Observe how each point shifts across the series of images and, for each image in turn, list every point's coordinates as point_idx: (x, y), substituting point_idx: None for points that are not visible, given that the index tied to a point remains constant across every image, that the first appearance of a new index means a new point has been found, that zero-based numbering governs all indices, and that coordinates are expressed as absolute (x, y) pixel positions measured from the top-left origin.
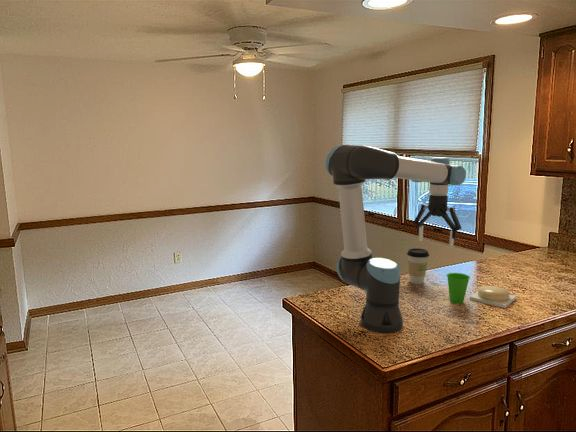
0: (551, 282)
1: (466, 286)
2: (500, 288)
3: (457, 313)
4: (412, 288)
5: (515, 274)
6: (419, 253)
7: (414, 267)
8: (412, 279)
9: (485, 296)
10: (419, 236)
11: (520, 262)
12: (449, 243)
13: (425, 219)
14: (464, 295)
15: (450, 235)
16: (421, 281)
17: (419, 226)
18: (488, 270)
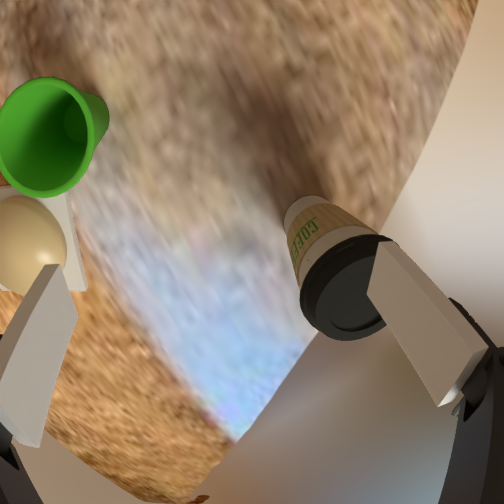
0: (51, 413)
1: (21, 135)
2: (19, 286)
3: (43, 22)
4: (292, 135)
5: (123, 424)
6: (347, 264)
7: (336, 216)
8: (323, 199)
9: (16, 200)
10: (414, 269)
11: (164, 466)
12: (49, 281)
13: (485, 483)
14: (47, 128)
15: (7, 348)
16: (288, 214)
17: (482, 360)
18: (180, 420)
